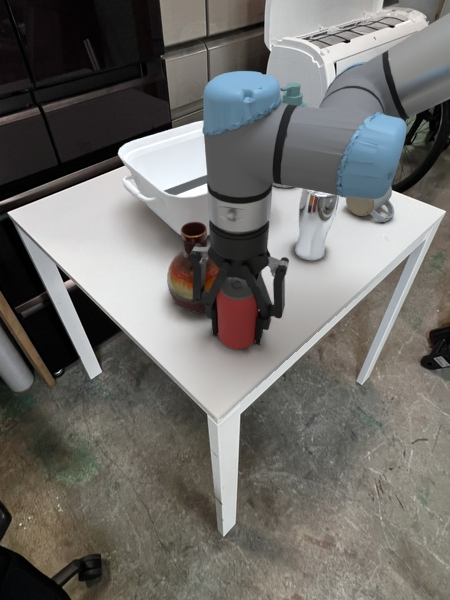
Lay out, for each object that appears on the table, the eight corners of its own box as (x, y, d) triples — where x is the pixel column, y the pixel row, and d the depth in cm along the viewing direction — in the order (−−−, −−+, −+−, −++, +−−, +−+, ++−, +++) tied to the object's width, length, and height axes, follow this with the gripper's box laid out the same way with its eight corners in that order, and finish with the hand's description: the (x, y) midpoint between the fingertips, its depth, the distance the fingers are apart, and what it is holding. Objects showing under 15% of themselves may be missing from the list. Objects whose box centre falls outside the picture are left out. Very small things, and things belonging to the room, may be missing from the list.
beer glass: (286, 247, 79) (294, 182, 68) (312, 237, 81) (325, 173, 70) (305, 266, 75) (317, 200, 64) (333, 255, 77) (349, 190, 66)
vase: (207, 269, 75) (203, 201, 63) (242, 301, 68) (243, 232, 57) (159, 293, 70) (145, 225, 59) (191, 329, 64) (182, 261, 53)
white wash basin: (225, 168, 104) (224, 113, 93) (297, 214, 88) (306, 153, 77) (112, 210, 90) (96, 151, 79) (173, 274, 74) (162, 210, 63)
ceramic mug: (340, 210, 88) (348, 181, 83) (358, 197, 92) (367, 167, 86) (381, 229, 83) (392, 199, 77) (398, 214, 87) (410, 184, 81)
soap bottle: (257, 179, 99) (262, 84, 83) (282, 167, 104) (291, 75, 87) (285, 193, 94) (296, 95, 78) (310, 180, 98) (325, 84, 82)
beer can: (247, 316, 66) (249, 265, 57) (263, 344, 62) (268, 293, 53) (212, 327, 64) (209, 276, 56) (226, 356, 60) (225, 306, 51)
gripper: (154, 224, 45) (175, 339, 62) (315, 249, 42) (292, 364, 58) (175, 192, 50) (190, 307, 67) (322, 212, 46) (298, 328, 63)
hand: (237, 333), depth 63 cm, fingers closed on beer can, 7 cm apart
